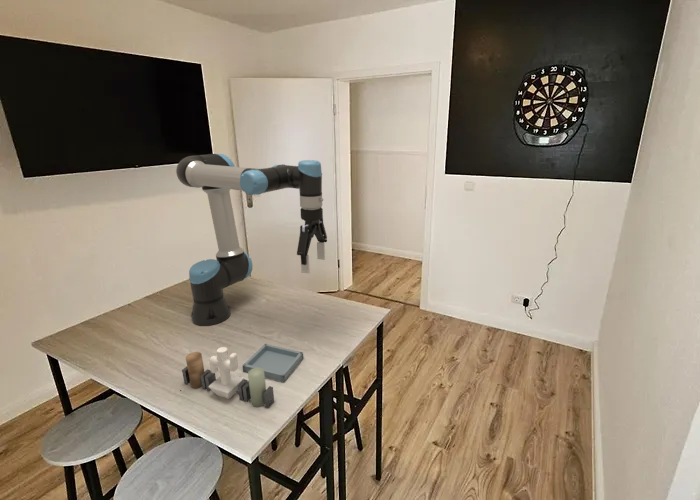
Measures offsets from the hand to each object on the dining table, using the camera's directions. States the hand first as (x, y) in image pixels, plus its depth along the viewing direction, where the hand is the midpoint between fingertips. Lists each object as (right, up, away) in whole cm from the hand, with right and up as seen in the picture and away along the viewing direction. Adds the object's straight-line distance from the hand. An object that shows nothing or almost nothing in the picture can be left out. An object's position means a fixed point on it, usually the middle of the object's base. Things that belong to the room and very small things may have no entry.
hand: (313, 265), depth 131 cm
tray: (-12, -32, -10) cm, 36 cm away
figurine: (-23, -37, -22) cm, 49 cm away
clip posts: (-23, -37, -22) cm, 49 cm away
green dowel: (-13, -38, -26) cm, 48 cm away
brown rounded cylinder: (-34, -36, -18) cm, 52 cm away
